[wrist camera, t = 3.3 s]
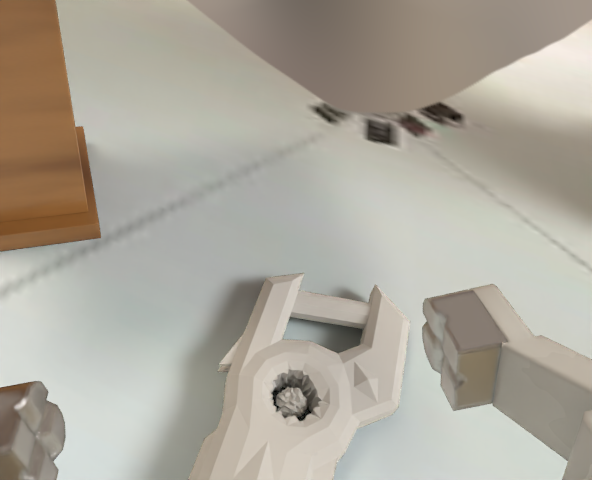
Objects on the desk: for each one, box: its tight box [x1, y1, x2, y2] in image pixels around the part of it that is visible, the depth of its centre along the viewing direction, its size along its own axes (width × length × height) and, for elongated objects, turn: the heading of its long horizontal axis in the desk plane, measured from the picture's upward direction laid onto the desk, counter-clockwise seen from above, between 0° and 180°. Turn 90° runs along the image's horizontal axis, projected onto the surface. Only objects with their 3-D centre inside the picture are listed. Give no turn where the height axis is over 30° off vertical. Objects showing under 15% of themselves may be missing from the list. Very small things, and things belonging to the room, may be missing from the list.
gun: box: [188, 273, 410, 480], centre depth 28 cm, size 18×3×10 cm
